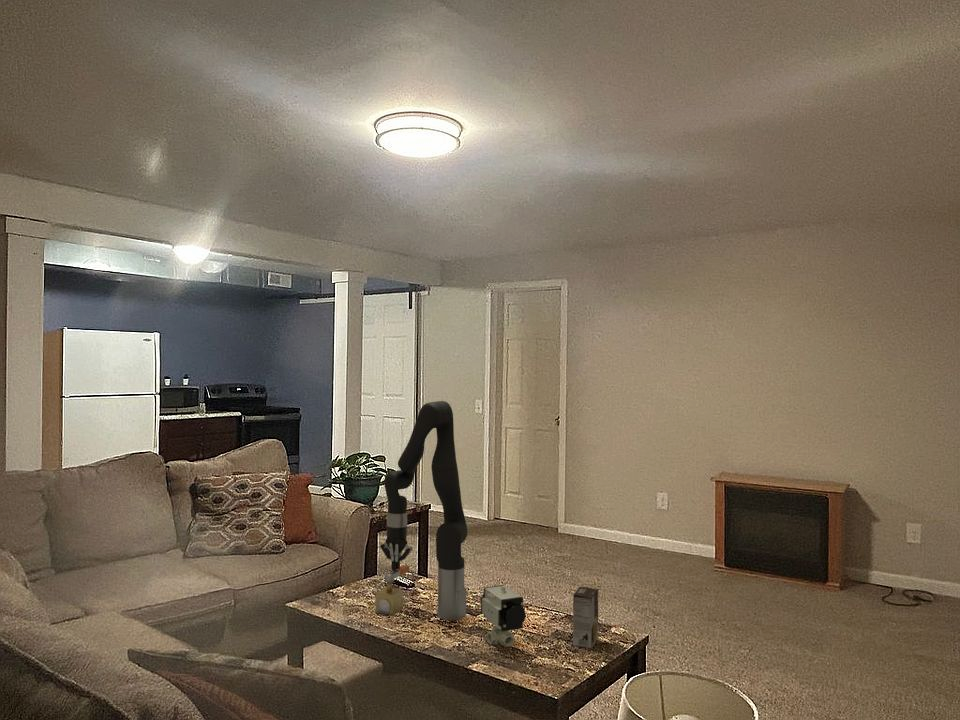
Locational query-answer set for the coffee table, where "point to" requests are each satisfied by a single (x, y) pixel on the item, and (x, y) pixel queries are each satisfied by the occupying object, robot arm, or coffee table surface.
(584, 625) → the coffee box
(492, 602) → the ball valve
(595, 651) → the coffee table surface
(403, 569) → the valve lever
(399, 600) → the valve housing
